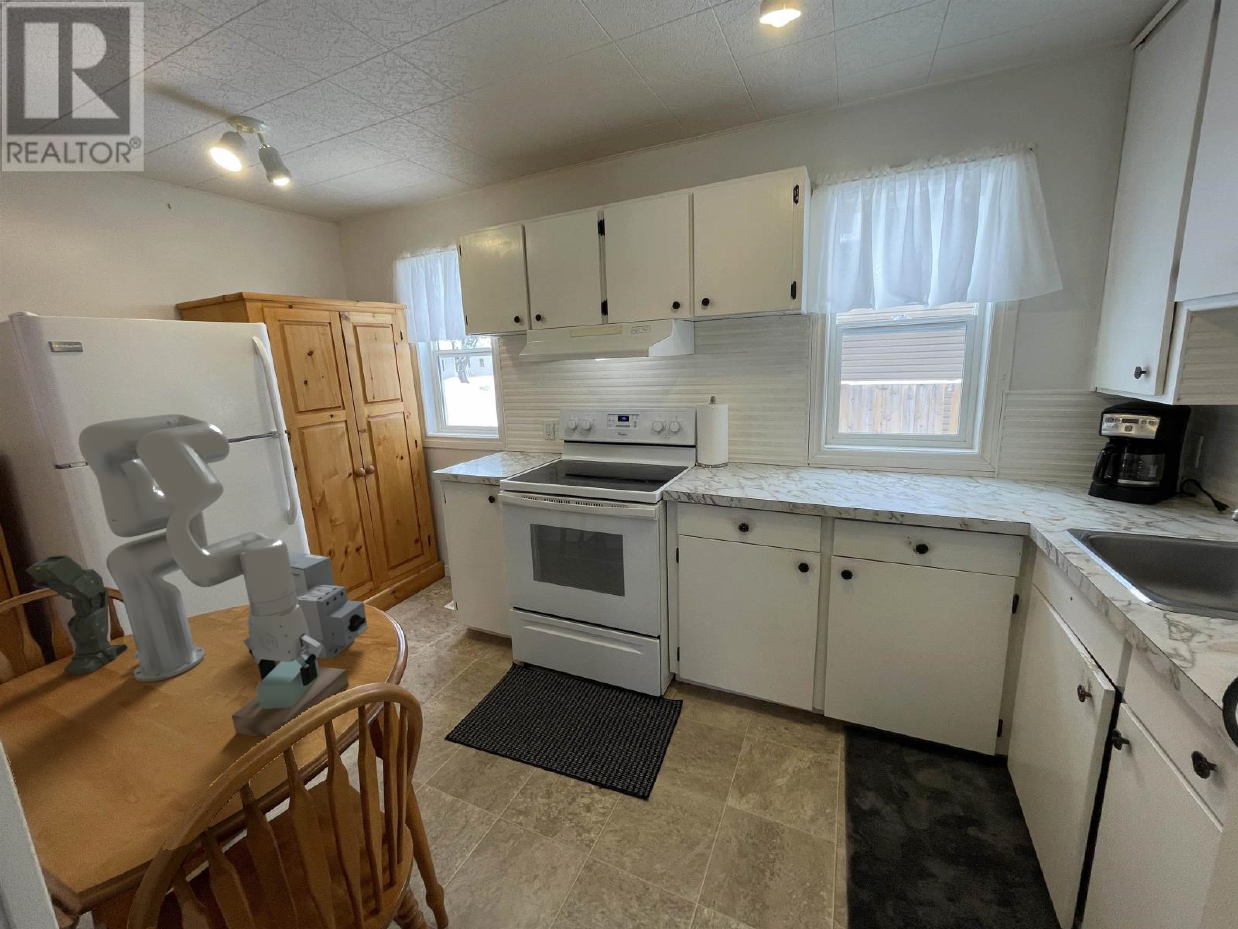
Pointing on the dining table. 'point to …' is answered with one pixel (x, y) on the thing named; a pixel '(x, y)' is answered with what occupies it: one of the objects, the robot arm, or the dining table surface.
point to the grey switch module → (310, 571)
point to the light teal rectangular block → (283, 686)
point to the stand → (271, 720)
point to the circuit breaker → (332, 618)
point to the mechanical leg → (80, 610)
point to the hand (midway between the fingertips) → (289, 679)
